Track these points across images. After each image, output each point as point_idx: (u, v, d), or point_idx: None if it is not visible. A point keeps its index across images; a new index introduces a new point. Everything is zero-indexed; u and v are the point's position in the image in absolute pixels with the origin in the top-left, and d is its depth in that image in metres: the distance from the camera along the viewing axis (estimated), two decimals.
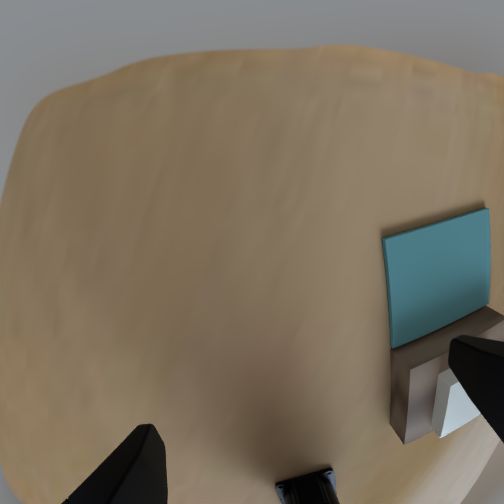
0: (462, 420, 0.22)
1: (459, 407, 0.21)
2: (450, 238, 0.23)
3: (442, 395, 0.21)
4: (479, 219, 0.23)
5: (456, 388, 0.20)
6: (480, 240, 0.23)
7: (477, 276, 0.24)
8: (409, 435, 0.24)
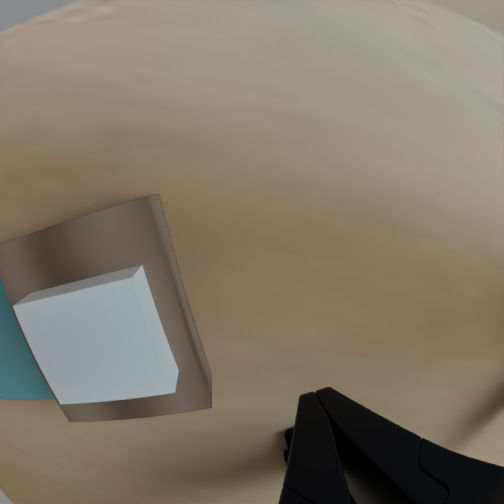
0: (139, 351, 0.13)
1: (101, 374, 0.13)
2: None
3: None
4: None
5: (63, 393, 0.13)
6: None
7: None
8: (188, 405, 0.17)
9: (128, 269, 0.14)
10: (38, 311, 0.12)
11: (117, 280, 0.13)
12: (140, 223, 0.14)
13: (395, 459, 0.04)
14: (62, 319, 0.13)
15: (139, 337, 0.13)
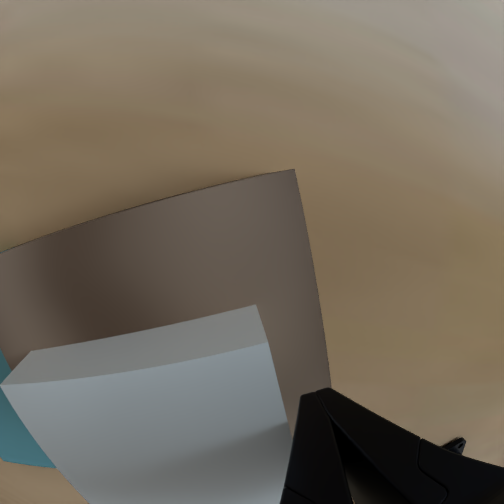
0: (260, 459, 0.07)
1: (180, 491, 0.07)
2: None
3: None
4: None
5: None
6: None
7: None
8: None
9: (230, 314, 0.08)
10: (49, 401, 0.06)
11: (231, 348, 0.06)
12: (282, 219, 0.08)
13: (394, 459, 0.04)
14: (102, 418, 0.06)
15: (265, 440, 0.07)
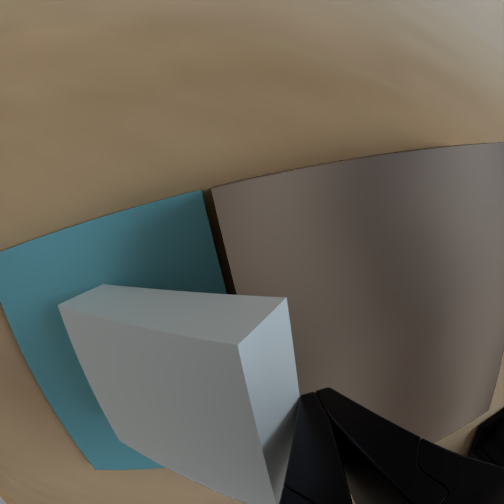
0: (233, 456, 0.06)
1: (170, 447, 0.08)
2: (56, 371, 0.11)
3: None
4: (7, 289, 0.10)
5: (122, 434, 0.10)
6: (39, 279, 0.10)
7: (116, 272, 0.10)
8: (472, 414, 0.10)
9: (254, 300, 0.07)
10: (84, 328, 0.08)
11: (207, 337, 0.06)
12: (502, 174, 0.08)
13: (394, 459, 0.04)
14: (115, 356, 0.08)
15: (237, 442, 0.06)
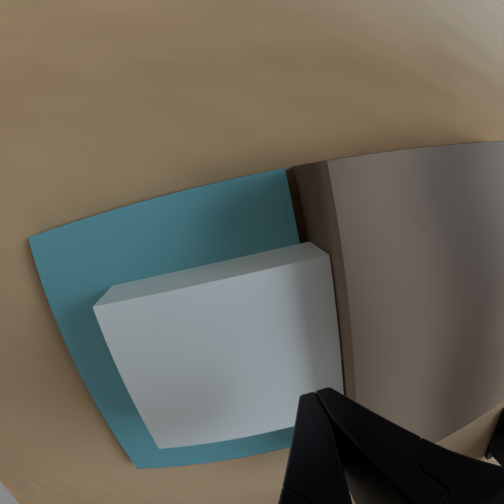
0: (314, 363, 0.10)
1: (244, 403, 0.10)
2: (106, 363, 0.11)
3: None
4: (53, 272, 0.10)
5: (169, 434, 0.10)
6: (96, 260, 0.10)
7: (191, 251, 0.10)
8: None
9: (292, 247, 0.10)
10: (145, 315, 0.09)
11: (304, 259, 0.09)
12: None
13: (395, 459, 0.04)
14: (193, 326, 0.09)
15: (320, 342, 0.09)
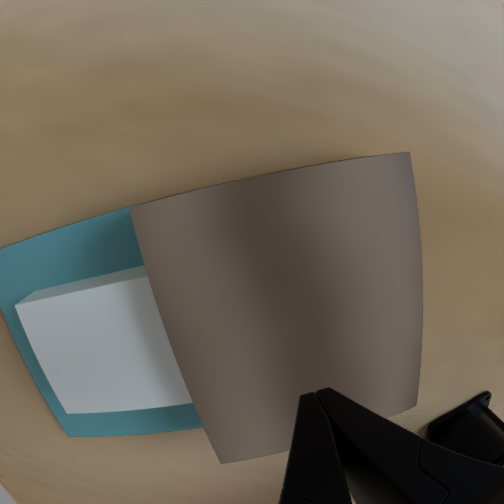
0: (158, 357, 0.12)
1: (114, 382, 0.12)
2: None
3: None
4: (0, 280, 0.12)
5: (70, 402, 0.12)
6: (24, 273, 0.13)
7: (80, 267, 0.13)
8: (396, 407, 0.13)
9: None
10: (43, 312, 0.11)
11: (136, 277, 0.11)
12: (402, 182, 0.11)
13: (395, 459, 0.04)
14: (71, 321, 0.11)
15: (159, 341, 0.12)
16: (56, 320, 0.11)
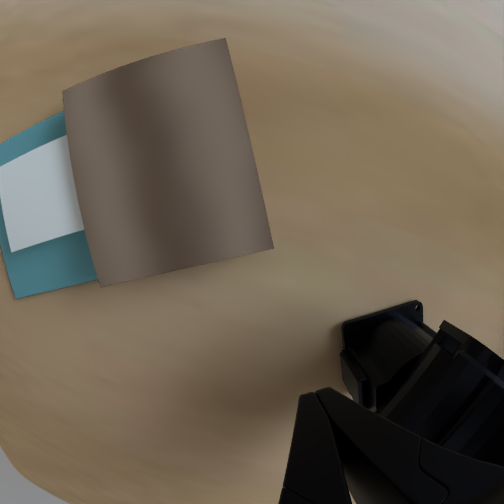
0: (69, 189, 0.17)
1: (42, 214, 0.17)
2: None
3: None
4: None
5: (15, 239, 0.17)
6: (8, 158, 0.18)
7: None
8: (248, 244, 0.17)
9: None
10: (11, 168, 0.16)
11: (64, 136, 0.16)
12: (219, 55, 0.15)
13: (395, 459, 0.04)
14: (25, 171, 0.16)
15: (71, 177, 0.16)
16: (17, 172, 0.16)
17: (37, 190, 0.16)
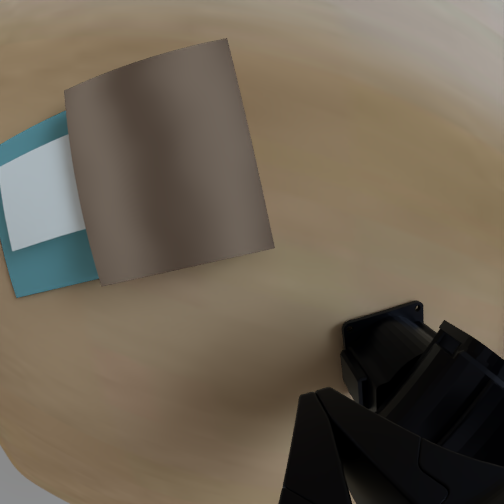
0: (71, 188, 0.17)
1: (43, 213, 0.17)
2: None
3: (36, 243, 0.18)
4: None
5: (16, 238, 0.17)
6: (10, 157, 0.18)
7: None
8: (249, 243, 0.17)
9: None
10: (13, 167, 0.16)
11: (66, 135, 0.16)
12: (221, 56, 0.15)
13: (395, 459, 0.04)
14: (27, 170, 0.16)
15: (72, 176, 0.17)
16: (19, 171, 0.16)
17: (38, 189, 0.17)
